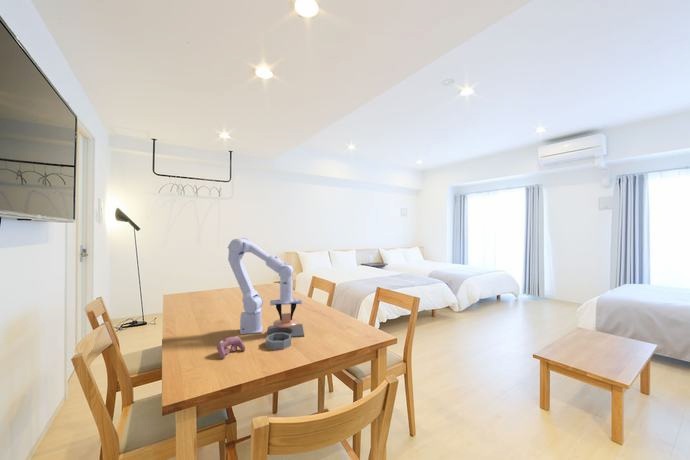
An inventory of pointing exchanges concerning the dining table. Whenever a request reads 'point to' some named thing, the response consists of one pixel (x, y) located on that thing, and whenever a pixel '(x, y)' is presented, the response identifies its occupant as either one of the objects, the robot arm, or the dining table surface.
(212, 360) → the dining table surface
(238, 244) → the robot arm
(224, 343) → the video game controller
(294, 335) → the mat
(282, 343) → the bowl
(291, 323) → the lid
